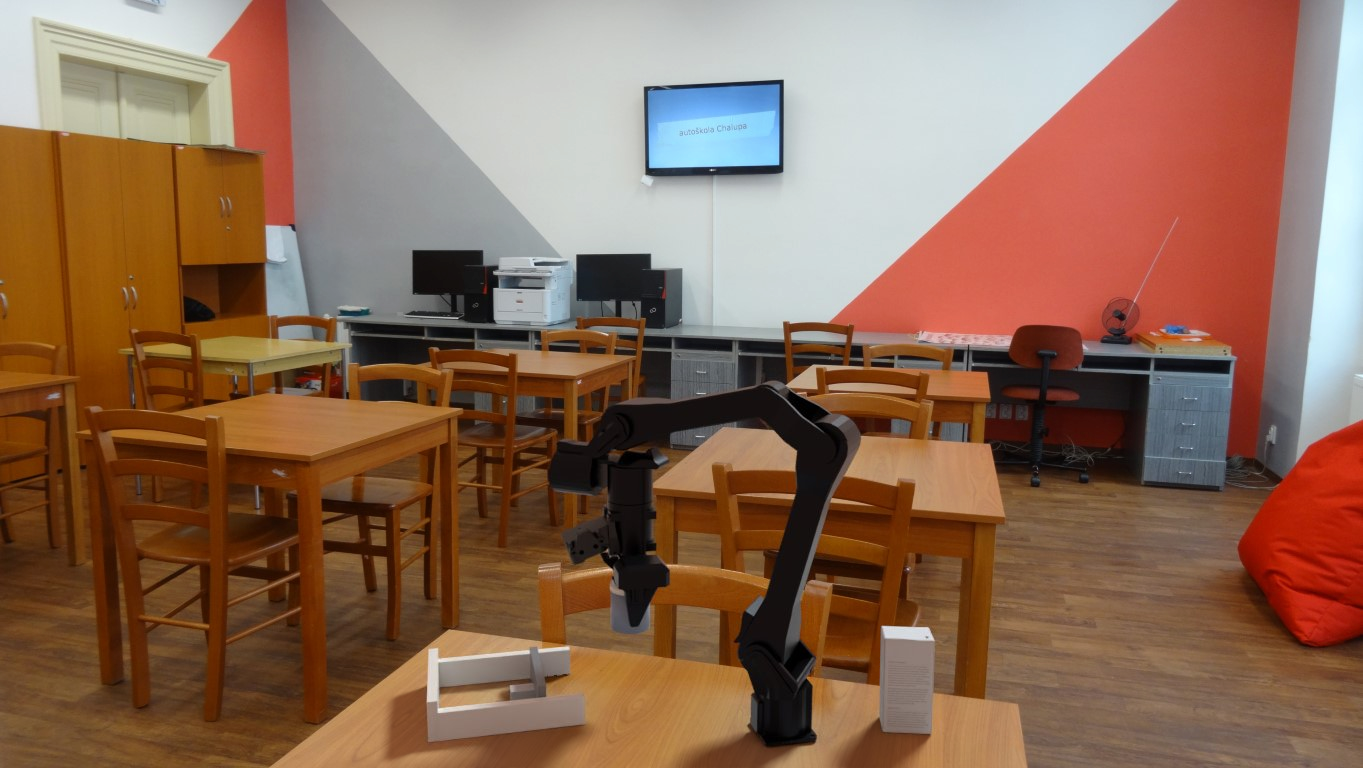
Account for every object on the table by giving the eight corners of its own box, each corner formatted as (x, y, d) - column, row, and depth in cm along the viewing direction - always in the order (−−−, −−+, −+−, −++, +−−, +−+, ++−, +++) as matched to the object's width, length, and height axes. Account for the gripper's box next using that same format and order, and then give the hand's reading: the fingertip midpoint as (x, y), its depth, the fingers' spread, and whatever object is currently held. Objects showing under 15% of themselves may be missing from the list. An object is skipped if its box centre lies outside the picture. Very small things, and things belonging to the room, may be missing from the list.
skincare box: (926, 718, 119) (930, 626, 117) (932, 735, 115) (936, 640, 113) (877, 715, 119) (880, 624, 118) (880, 732, 115) (884, 638, 113)
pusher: (537, 677, 129) (537, 646, 128) (546, 719, 117) (546, 685, 117) (507, 680, 128) (506, 649, 127) (513, 722, 117) (513, 688, 116)
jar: (646, 616, 125) (646, 574, 124) (654, 632, 120) (654, 588, 119) (606, 620, 124) (606, 577, 123) (613, 636, 119) (613, 591, 118)
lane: (569, 670, 132) (568, 635, 131) (585, 724, 117) (584, 685, 116) (430, 684, 127) (428, 648, 127) (428, 742, 112) (426, 702, 112)
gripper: (557, 484, 126) (558, 597, 129) (575, 524, 109) (577, 654, 111) (639, 480, 129) (639, 591, 131) (671, 518, 111) (670, 645, 113)
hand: (630, 618), depth 122 cm, fingers closed on jar, 5 cm apart
